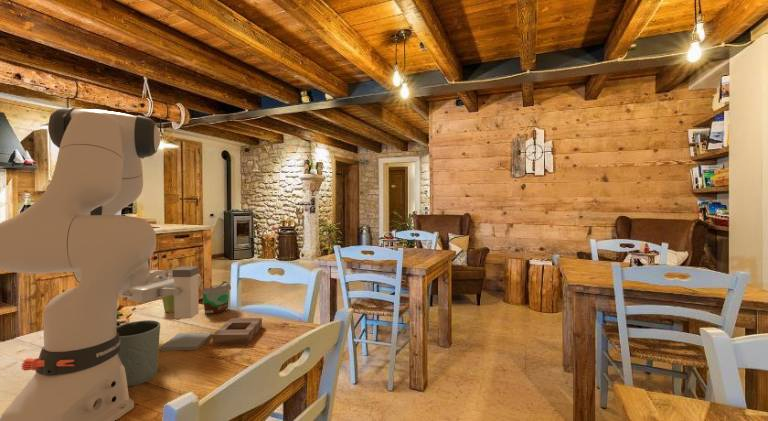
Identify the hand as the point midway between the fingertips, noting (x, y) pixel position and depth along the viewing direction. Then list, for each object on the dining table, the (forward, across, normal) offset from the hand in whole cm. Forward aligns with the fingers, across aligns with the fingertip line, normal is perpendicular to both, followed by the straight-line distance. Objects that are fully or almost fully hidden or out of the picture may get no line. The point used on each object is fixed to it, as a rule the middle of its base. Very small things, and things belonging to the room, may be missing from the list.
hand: (188, 288), depth 104 cm
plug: (-1, 0, +8) cm, 8 cm away
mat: (-1, 0, +16) cm, 16 cm away
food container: (-12, +26, +16) cm, 33 cm away
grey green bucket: (+4, -20, +16) cm, 26 cm away
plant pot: (-30, +22, +16) cm, 41 cm away
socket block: (+10, +9, +16) cm, 21 cm away
